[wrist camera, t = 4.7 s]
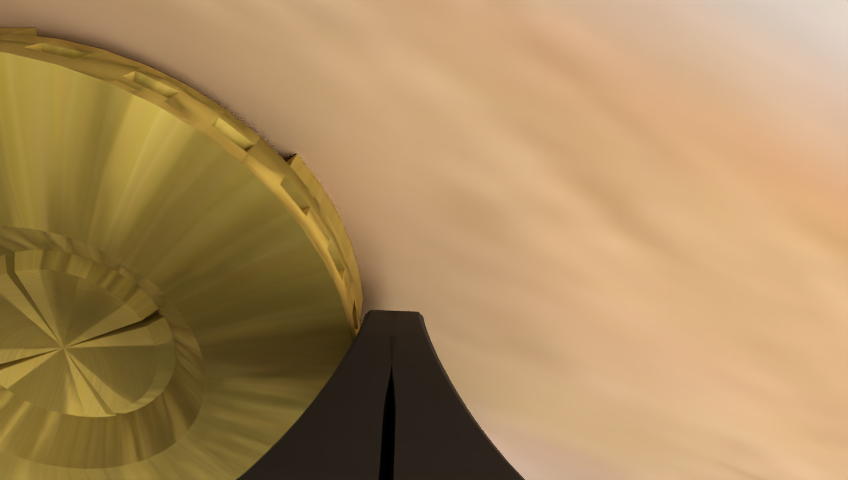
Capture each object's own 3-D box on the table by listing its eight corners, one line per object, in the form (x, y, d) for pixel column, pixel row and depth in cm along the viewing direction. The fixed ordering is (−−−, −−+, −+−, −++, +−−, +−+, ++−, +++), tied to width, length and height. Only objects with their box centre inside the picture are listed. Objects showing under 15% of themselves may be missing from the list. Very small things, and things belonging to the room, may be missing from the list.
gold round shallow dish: (-201, 384, 14) (-298, 454, 12) (-172, -110, 9) (-323, -123, 7) (256, 528, 17) (236, 603, 15) (457, 203, 12) (465, 252, 10)
